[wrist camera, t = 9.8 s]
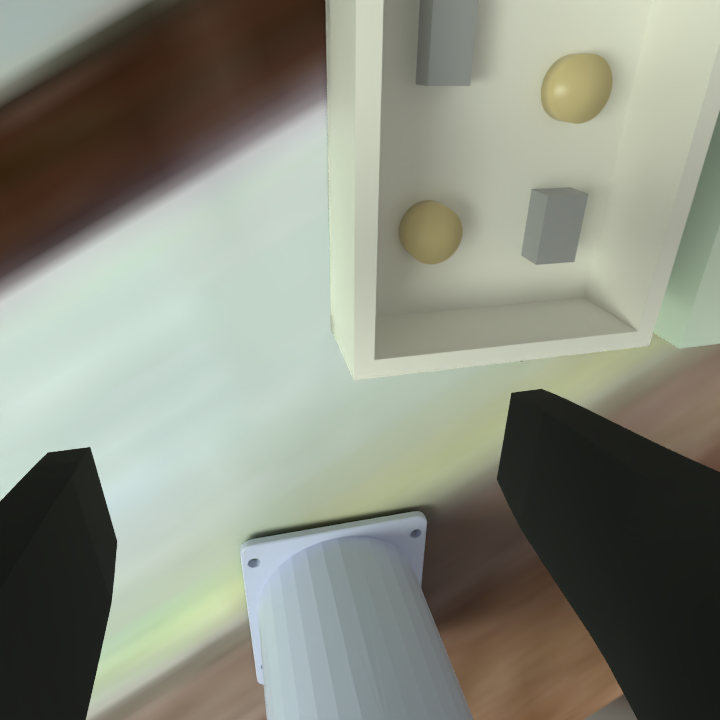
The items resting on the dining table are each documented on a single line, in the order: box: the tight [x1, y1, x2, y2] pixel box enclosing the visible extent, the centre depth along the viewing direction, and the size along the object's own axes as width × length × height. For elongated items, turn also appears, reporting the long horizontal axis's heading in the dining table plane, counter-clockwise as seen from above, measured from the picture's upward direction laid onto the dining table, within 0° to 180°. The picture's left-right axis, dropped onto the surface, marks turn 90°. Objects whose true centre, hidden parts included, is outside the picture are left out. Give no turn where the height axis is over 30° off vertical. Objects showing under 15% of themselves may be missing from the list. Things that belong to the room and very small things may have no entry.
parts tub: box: [325, 0, 720, 380], centre depth 16 cm, size 12×10×4 cm
